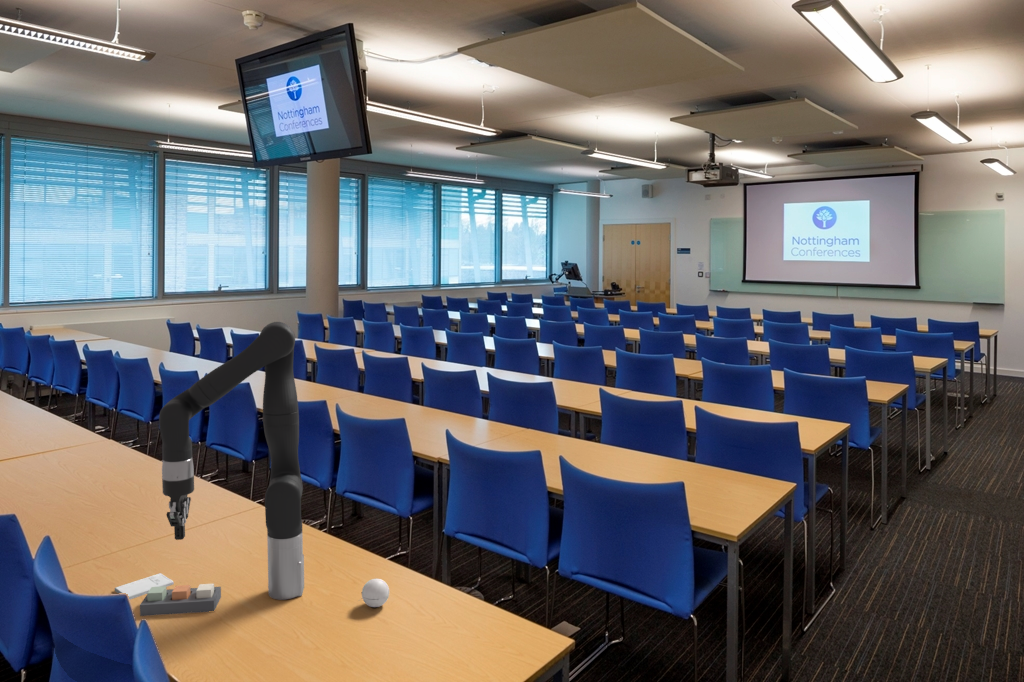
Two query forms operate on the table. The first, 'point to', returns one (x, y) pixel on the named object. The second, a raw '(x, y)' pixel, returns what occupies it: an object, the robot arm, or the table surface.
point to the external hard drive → (144, 585)
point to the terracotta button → (181, 592)
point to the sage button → (157, 593)
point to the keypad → (180, 604)
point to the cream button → (205, 591)
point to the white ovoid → (375, 592)
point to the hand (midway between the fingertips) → (180, 538)
